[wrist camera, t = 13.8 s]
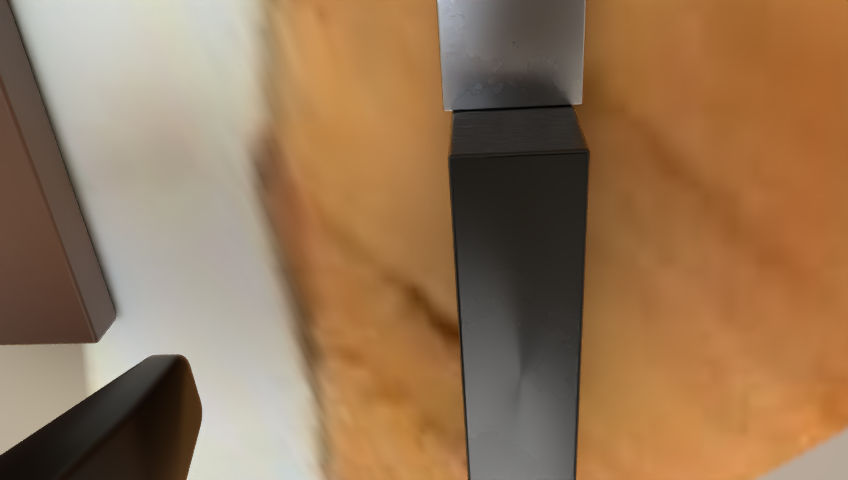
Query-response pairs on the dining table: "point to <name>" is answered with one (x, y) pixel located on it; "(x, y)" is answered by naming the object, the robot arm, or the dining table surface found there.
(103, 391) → the robot arm
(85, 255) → the board
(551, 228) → the knife
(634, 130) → the dining table surface
